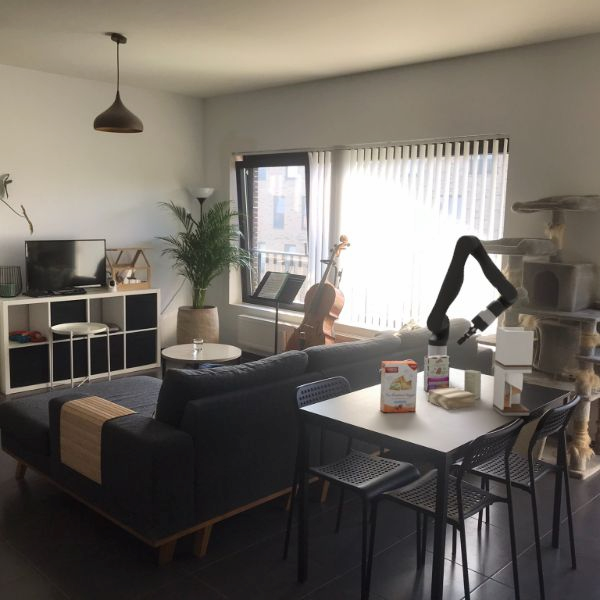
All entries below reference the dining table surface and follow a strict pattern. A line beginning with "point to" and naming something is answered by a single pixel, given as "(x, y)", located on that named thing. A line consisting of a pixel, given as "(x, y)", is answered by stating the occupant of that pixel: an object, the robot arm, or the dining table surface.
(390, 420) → the dining table surface
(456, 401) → the birch plinth
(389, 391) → the cracker box
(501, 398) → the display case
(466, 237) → the robot arm
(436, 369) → the candy bar box
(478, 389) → the skincare box
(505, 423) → the dining table surface
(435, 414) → the dining table surface
